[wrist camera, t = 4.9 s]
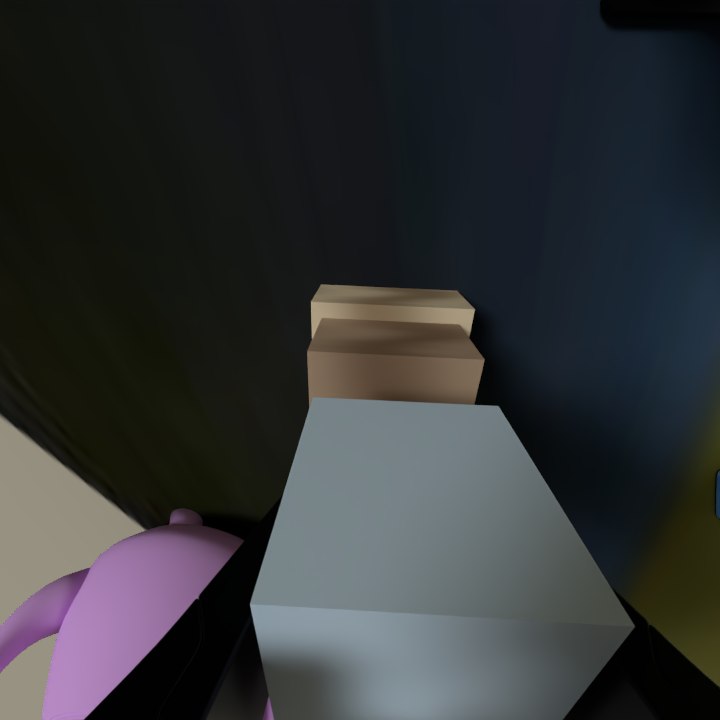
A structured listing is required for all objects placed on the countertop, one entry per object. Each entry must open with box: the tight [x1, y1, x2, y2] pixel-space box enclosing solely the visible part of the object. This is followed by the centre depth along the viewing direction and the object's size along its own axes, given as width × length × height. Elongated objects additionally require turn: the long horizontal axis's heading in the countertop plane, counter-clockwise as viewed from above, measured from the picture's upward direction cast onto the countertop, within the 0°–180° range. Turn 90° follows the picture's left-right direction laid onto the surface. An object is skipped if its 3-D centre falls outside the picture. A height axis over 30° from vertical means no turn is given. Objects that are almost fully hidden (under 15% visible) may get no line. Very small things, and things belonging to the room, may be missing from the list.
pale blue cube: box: [250, 397, 635, 720], centre depth 8 cm, size 5×5×5 cm
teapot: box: [0, 509, 274, 720], centre depth 21 cm, size 20×14×12 cm
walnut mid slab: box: [307, 318, 485, 409], centre depth 14 cm, size 6×6×4 cm
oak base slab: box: [311, 285, 475, 339], centre depth 17 cm, size 7×7×4 cm
